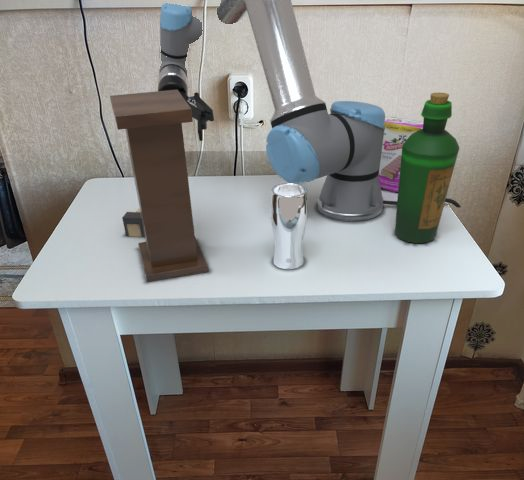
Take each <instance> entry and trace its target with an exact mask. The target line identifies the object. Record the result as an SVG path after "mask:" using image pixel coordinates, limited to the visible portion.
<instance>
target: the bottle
mask: <svg viewBox="0 0 524 480" xmlns="http://www.w3.org/2000/svg"><path fill="white" fill-rule="evenodd" d="M449 97H450V94H449V93H446V92H439V91H438V92H432V93H430V99H427V100H426V101H425V102H424V105H423V108H422V111H421V113H420V115H421V116H422V118H423V121H422V122H423V129H420V130H418V131H416V132H414V133H413V134H411V135H410V137H409V138H408V139H407V140H406V141H405V143H404V144H403V145H402V155H401V167H400V178H399V189H398V193H397V200H396V201H397V205H396V214H395V223H394V224H395V225H394V234H395V235H396V237H397V238H399V239H401V240H402V241H405V242H407V243H412V244H424V243H429V242H431V241H433V240H434V239H435V238H436V236H437V233H438V228H439V225H440V221H441V217H442V215H443V210H444V207H445V204H446V202H445V199H446V198H447V195H448V192H449V189H450V185H451V184H450V183H451V180H452V177H453V173H454V169H455V166H456V162H457V158H458V155H459V151H460V146H459V143H458V141H457V139H456V137H454V136H453V135H452V133H450V132H449V131H447V130H446V126H447V123H448V120H449V119H451V117H452V116H453V114H452V113H453V111H452V109H453V106H452V105H453V104H452V101H450V100H449Z"/></svg>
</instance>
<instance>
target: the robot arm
mask: <svg viewBox="0 0 524 480" xmlns="http://www.w3.org/2000/svg"><path fill="white" fill-rule="evenodd" d="M162 4H163V3H162ZM162 4H161V7H160V16H159V36H160V37H159V39H160V40H159V47H160V46H161V52H160V51H159V54H160V53H161V61H162V64H161V66H160V69H159V68H158V83H157V91H167V90H178V91H179V92H180V94H181V95H182V97H183V98H184V99H185V101H186V102H187V104H188V105H189V106H190V108H191V109H192V119H194V120H196V121H197V134H198V141H199V142H203V140H204V139H203V131H204V130H207V129H208V122H214V121H215V117H214V110H213V109H212V107H210V106H209V105H208V104H207V103H206V102H205V101H204V99H202V98H201V97H200V93H199V92H194V93H193V95H192V96H189V94H188V93H189V83H188V82H189V78H188V76H187V70H186V68H185V61H186V57H187V52H188V48H189V44H191V43H193V42H195V41H196V40H198V39H199V37H200V36H201V35H202V31H203V30H202V22H200V20H199V19H197V18H196V17H193V16H192V10H193V9H192V7H191V6H190V5H189V6H190V7H189V6H188V7H186V6H181V5H177V4H175V5H174V4H170V3H169V4H168V3H165V4H163V5H162ZM217 15H218V18H219V20H221V22H223V23H225V24H233V23H236V22H238V21H239V20H241V19H242V20H243V19H244V18H245V16H246V15H247V16H248V19H249V22H250V27H251V29H252V33H253V37H254V40H255V44H256V48H257V51H258V55H259V58H260V62H261V65H262V69H263V73H264V77H265V80H266V84H267V88H268V90H269V91H268V92H269V94H270V98H271V100H272V105H273V109H274V113H273V114H272V117H271V118H270V120H269V122H270V125H271V129H270V130H269V132H268V134H267V136H266V145H265V150H266V156H267V158H268V161H269V164H270V166H271V168H272V169H273V171H274V172H275V174H277V176H278V177H280V178H281V179H282V180H283V181H285V183H296V184H303V183H309V182H312V181H315V180H316V179H320V178H323V177H326V178H325V180H324V182H323V185H322V187H321V190H320V193H319V195H318V197H317V200H316V203H317V210H318V211H319V213H320V214H322V215H323V216H325V217H327V218H329V219H333V220H336V221H342V222H363V221H368V220H371V219H374V218H376V217H378V216H379V215H381V214H382V212H383V207H384V205H387V206H388V205H389V206H397V201H398V200H384V198H383V193H382V189H381V188H380V183H379V177H378V176H379V168H380V160H381V153H382V145H383V137H384V130H385V116H386V112H385V110H384V108H382V107H381V106H378V105H376V104H373V103H367V102H363V101H354V100H338V101H334V102H333V103H332V104H331V106H330V109H329V111H328V108H327V103H326V101H324V100H322V99H321V98H319V97H318V96H317V95H316V92H315V88H314V84H313V81H312V76H311V73H310V69H309V64H308V61H307V57H306V52H305V49H304V45H303V42H302V38H301V33H300V29H299V25H298V22H297V19H296V14H295V10H294V7H293V3H292V0H221V3H220V6H219V7H218V8H217ZM189 49H190V48H189ZM166 56H167V57H166ZM329 112H330V113H329ZM445 203H448V204H452V205H453V206H455V208H462V206H461V205H460V204H459V202H457V200H454V199H452V198H447V197H446V199H445Z"/></svg>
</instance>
